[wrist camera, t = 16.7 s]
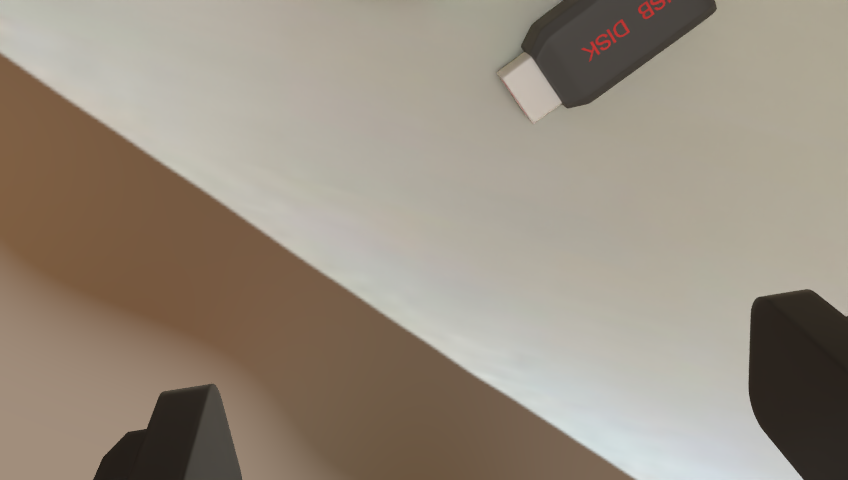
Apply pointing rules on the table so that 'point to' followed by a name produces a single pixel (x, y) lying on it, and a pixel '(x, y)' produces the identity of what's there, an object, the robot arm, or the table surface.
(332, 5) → the table surface
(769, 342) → the robot arm
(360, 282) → the table surface
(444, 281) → the table surface
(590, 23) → the usb drive
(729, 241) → the table surface
